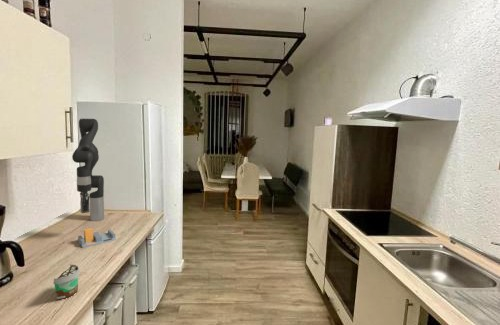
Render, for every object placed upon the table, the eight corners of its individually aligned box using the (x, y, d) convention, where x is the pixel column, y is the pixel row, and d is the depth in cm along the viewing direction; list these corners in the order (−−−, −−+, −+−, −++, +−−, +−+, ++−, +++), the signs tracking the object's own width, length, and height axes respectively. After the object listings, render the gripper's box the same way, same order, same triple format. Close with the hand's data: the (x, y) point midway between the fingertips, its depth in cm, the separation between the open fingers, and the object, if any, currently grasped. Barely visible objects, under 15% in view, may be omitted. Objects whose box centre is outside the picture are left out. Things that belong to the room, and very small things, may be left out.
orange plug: (84, 240, 162) (83, 229, 161) (91, 238, 165) (91, 227, 164) (85, 242, 160) (85, 231, 159) (93, 240, 162) (92, 229, 161)
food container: (70, 302, 108) (69, 279, 107) (54, 302, 107) (53, 279, 106) (86, 284, 120) (85, 263, 119) (72, 284, 119) (71, 263, 118)
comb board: (77, 240, 164) (77, 235, 164) (109, 233, 176) (109, 228, 176) (82, 248, 155) (82, 242, 154) (116, 240, 167) (115, 234, 166)
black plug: (80, 211, 169) (80, 200, 168) (88, 210, 171) (87, 199, 170) (82, 213, 166) (81, 202, 165) (89, 212, 168) (89, 201, 167)
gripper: (74, 182, 169) (75, 208, 171) (79, 186, 158) (80, 214, 161) (88, 180, 174) (89, 206, 176) (93, 184, 164) (94, 211, 166)
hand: (85, 209), depth 168 cm, fingers closed on black plug, 4 cm apart
